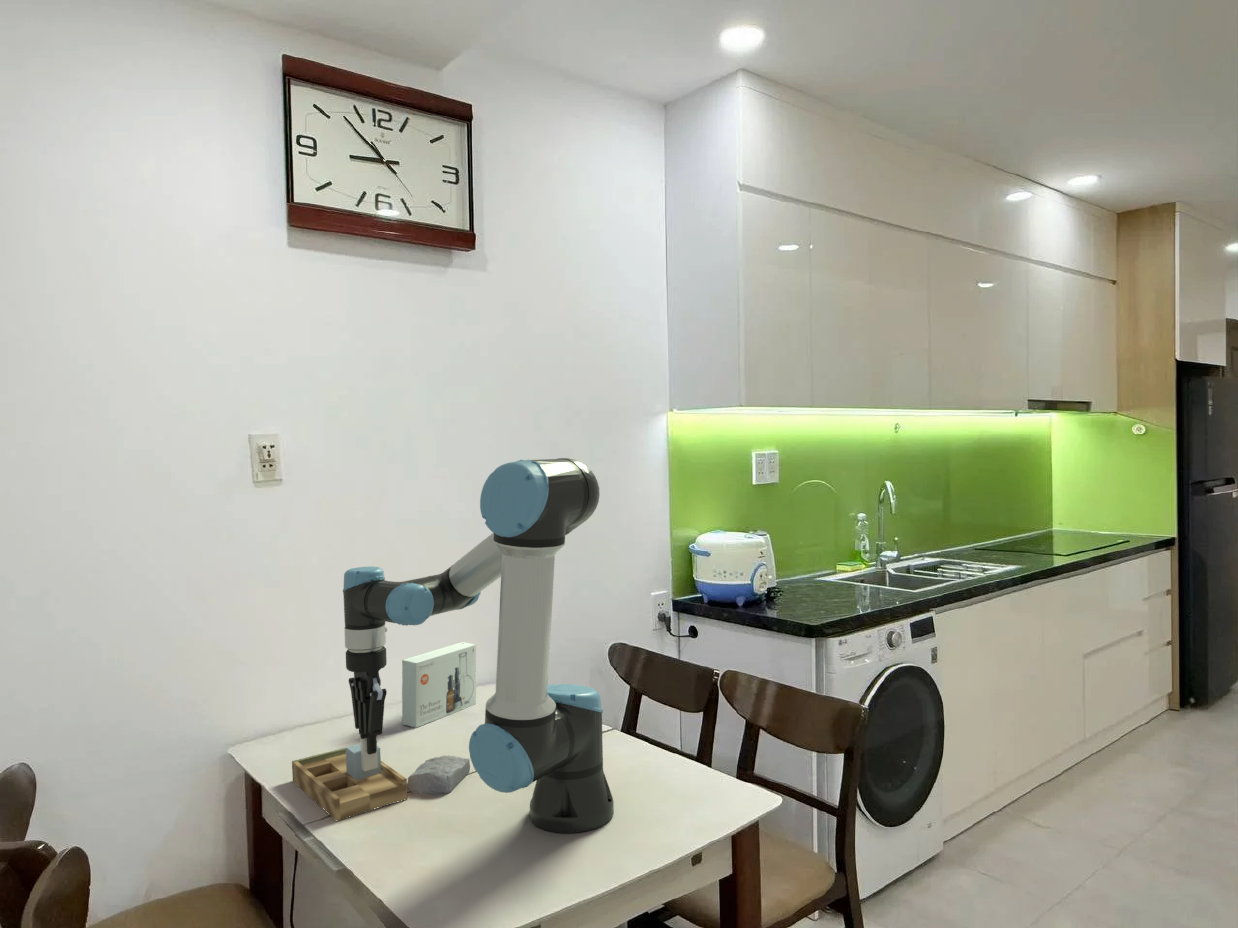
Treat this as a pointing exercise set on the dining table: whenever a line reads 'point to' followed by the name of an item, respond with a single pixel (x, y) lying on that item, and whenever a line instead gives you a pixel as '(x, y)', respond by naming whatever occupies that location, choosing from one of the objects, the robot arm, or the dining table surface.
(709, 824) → the dining table surface
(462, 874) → the dining table surface
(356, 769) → the block
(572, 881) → the dining table surface
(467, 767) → the stone block
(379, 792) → the trap box
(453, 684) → the skincare box
